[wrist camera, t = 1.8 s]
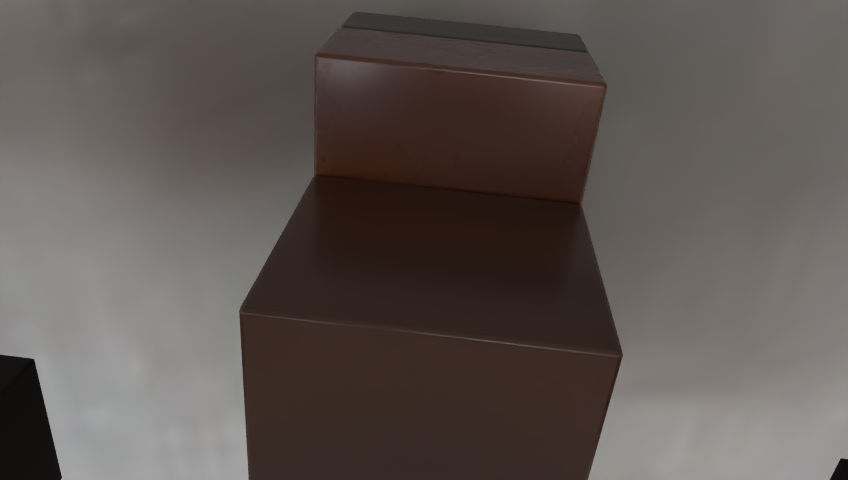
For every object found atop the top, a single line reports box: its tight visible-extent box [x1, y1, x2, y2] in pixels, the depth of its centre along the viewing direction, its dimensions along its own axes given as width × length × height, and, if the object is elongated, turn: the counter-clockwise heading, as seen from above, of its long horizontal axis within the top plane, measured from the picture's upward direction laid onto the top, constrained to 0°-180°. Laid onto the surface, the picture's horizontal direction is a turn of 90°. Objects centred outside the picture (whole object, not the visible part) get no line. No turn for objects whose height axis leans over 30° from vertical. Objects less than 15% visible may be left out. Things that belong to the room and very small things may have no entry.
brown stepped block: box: [239, 12, 623, 480], centre depth 13 cm, size 12×4×8 cm, turn 175°
